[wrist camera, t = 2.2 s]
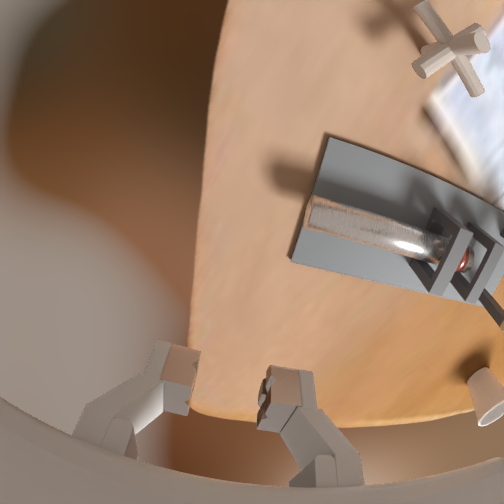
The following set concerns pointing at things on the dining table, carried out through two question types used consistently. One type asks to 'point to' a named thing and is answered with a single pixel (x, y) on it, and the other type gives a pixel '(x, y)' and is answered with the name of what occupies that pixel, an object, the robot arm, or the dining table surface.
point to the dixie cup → (486, 396)
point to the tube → (379, 231)
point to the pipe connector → (450, 49)
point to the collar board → (414, 213)
